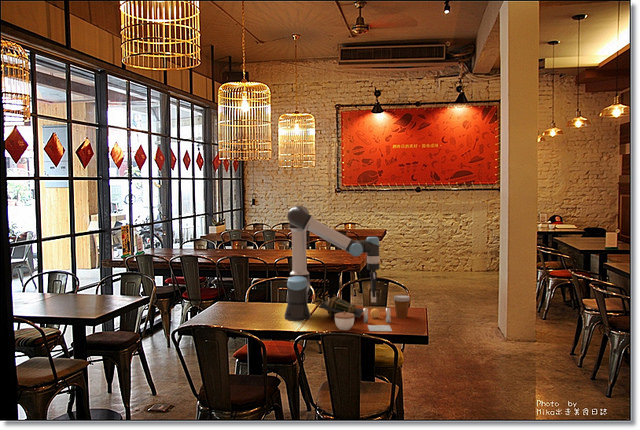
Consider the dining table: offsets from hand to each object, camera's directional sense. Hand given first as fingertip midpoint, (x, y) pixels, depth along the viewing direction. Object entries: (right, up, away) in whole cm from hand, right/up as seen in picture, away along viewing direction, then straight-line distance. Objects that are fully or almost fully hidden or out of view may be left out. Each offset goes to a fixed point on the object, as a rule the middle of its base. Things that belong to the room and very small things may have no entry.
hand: (373, 301), depth 344 cm
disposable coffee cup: (+16, -8, -7) cm, 19 cm away
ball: (0, -5, -11) cm, 12 cm away
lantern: (-22, -8, -9) cm, 25 cm away
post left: (-6, -8, -22) cm, 24 cm away
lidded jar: (-19, -9, -35) cm, 41 cm away
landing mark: (0, -9, -35) cm, 36 cm away
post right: (+6, -8, -21) cm, 24 cm away
